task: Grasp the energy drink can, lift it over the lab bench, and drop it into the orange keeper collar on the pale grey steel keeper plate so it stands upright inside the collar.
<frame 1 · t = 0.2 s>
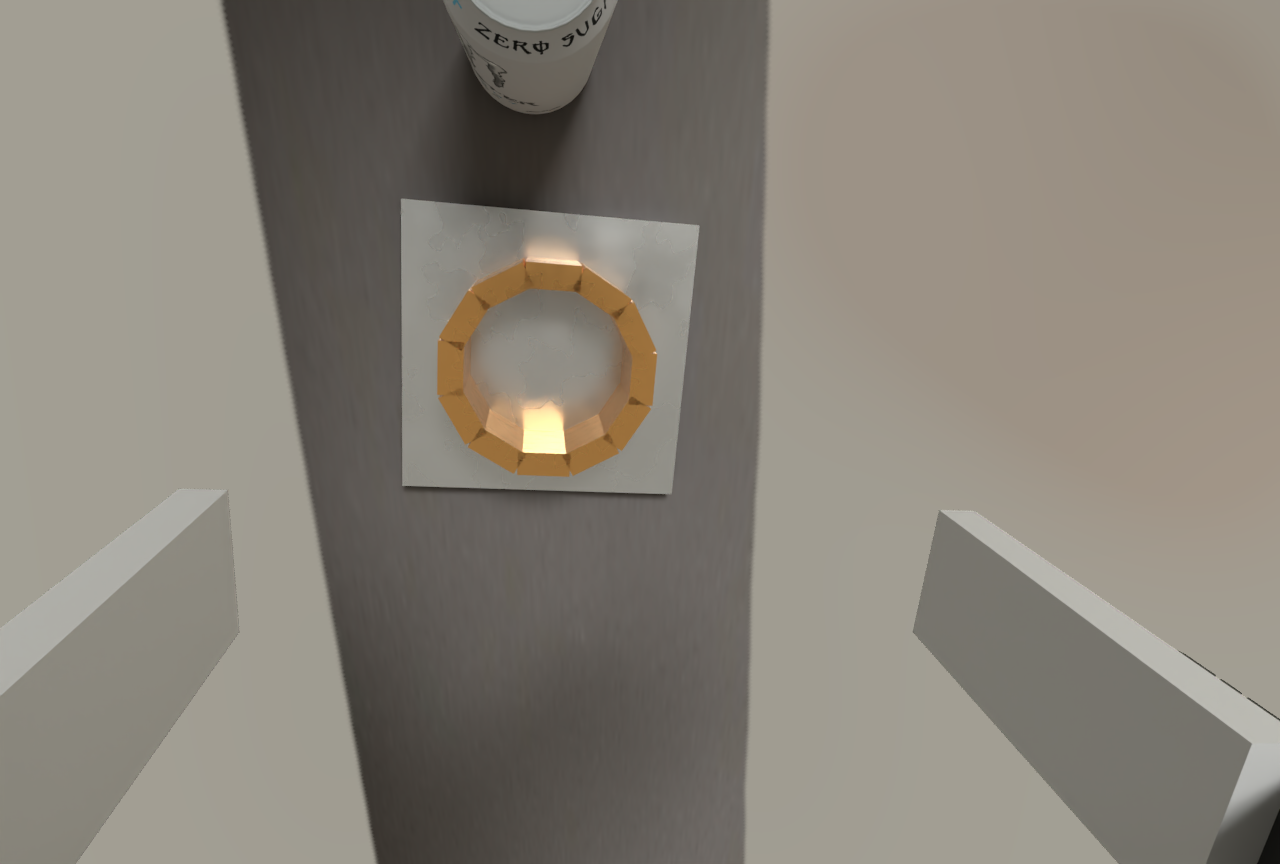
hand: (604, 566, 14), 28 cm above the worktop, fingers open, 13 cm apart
keeper: (547, 354, 40), on the worktop
energy drink can: (531, 51, 36), on the worktop
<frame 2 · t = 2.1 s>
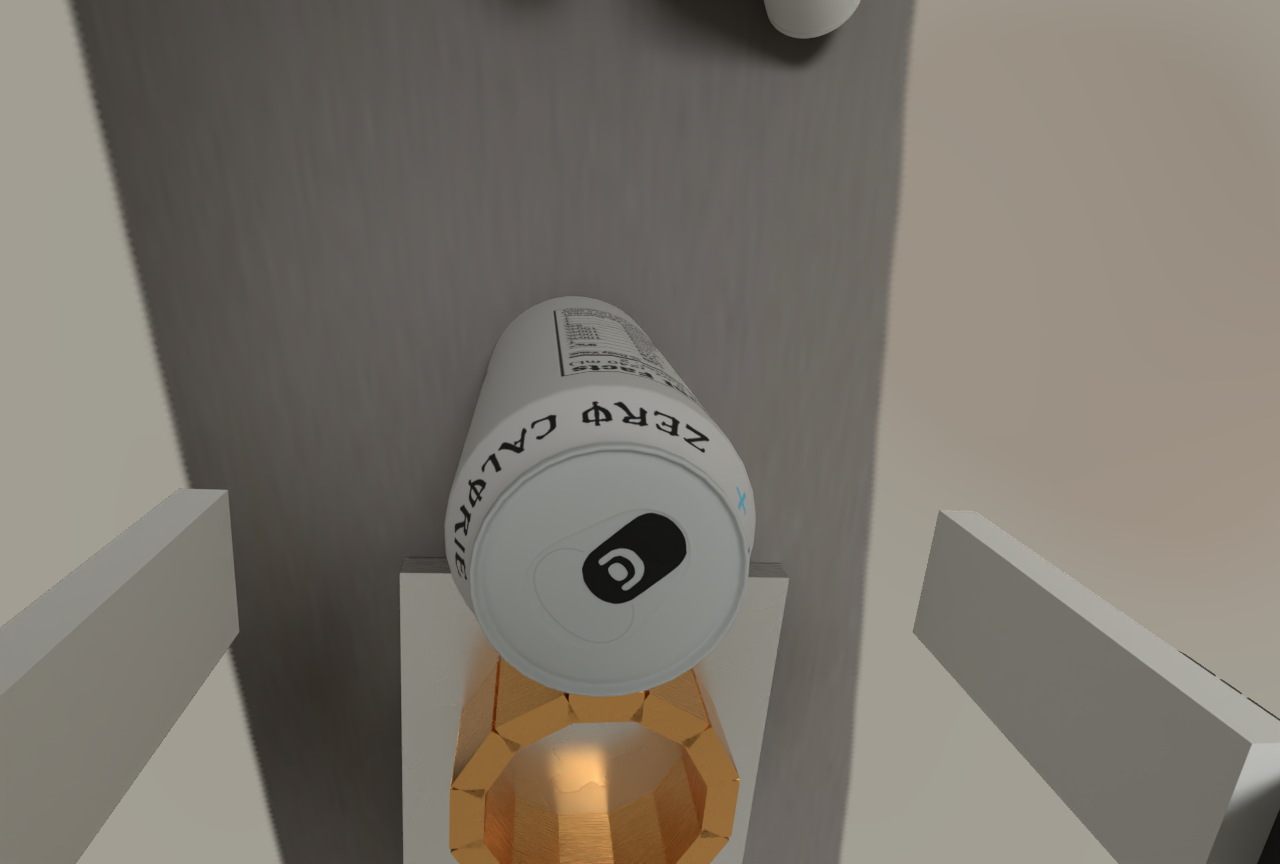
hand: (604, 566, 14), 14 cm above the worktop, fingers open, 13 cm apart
keeper: (587, 717, 31), on the worktop
energy drink can: (573, 374, 27), on the worktop
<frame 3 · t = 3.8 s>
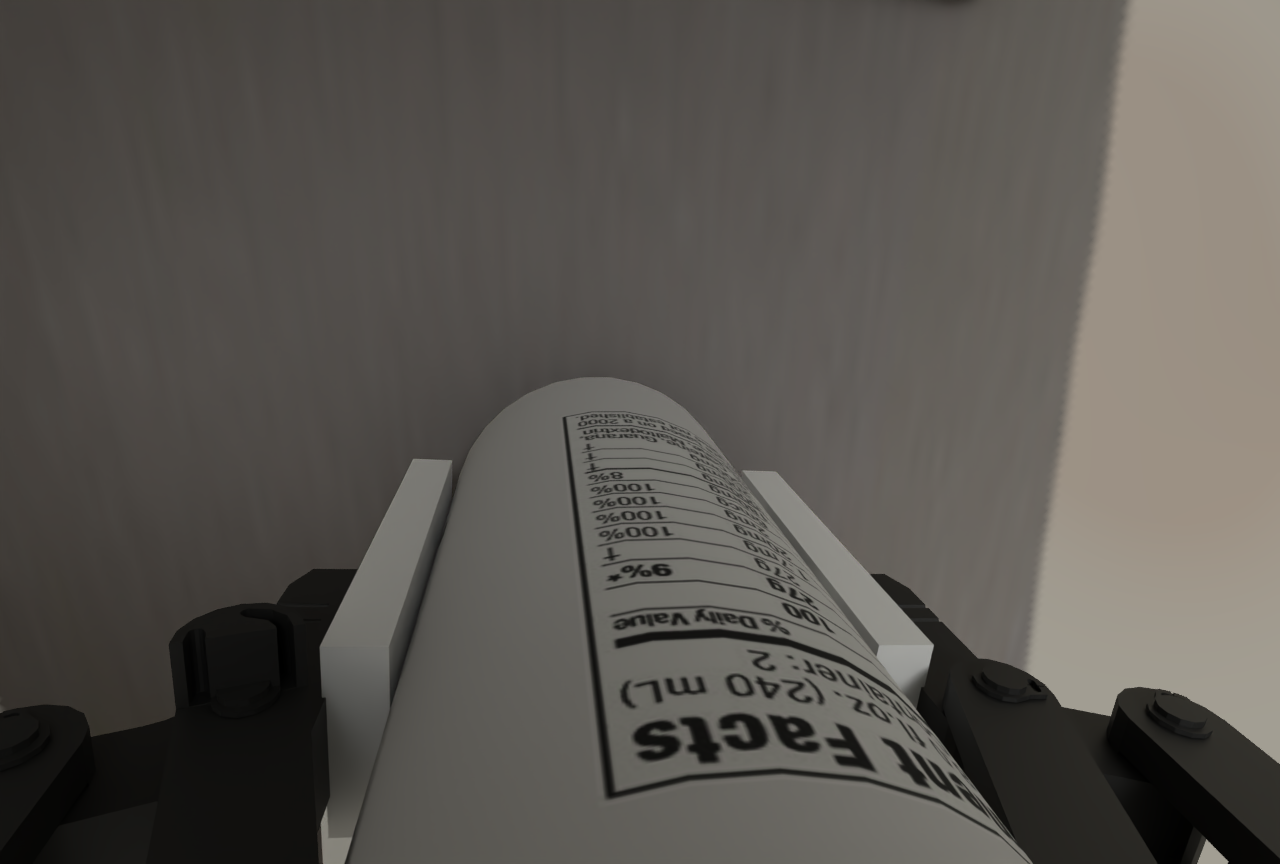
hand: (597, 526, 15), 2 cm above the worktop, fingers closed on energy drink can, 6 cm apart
energy drink can: (590, 489, 17), on the worktop, touching gripper
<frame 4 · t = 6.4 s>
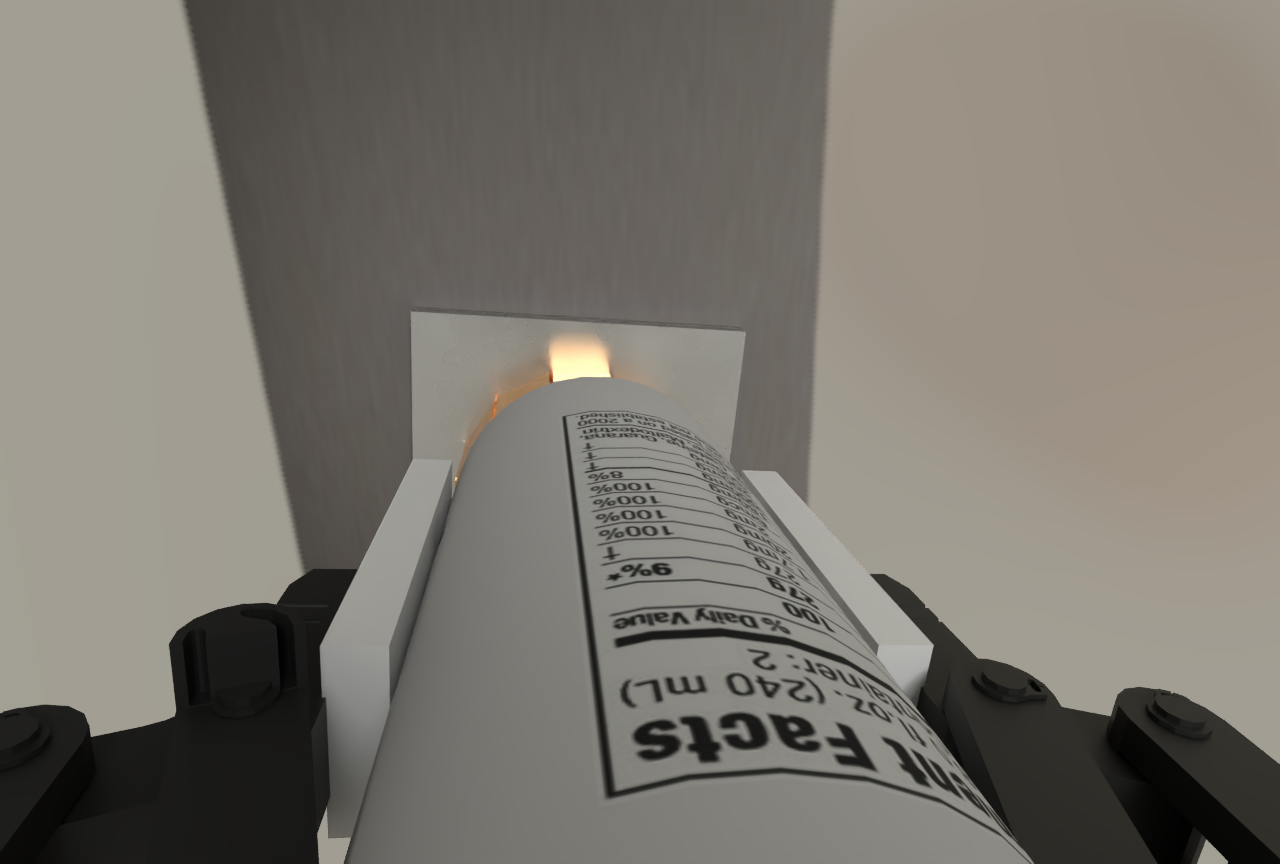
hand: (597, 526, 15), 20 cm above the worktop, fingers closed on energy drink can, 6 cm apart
keeper: (573, 468, 36), on the worktop
energy drink can: (590, 489, 17), point 18 cm above the worktop, touching gripper
when the fingers open (8 cm above the worktop, at t = 9.1 s): energy drink can drops 5 cm, resting on keeper.
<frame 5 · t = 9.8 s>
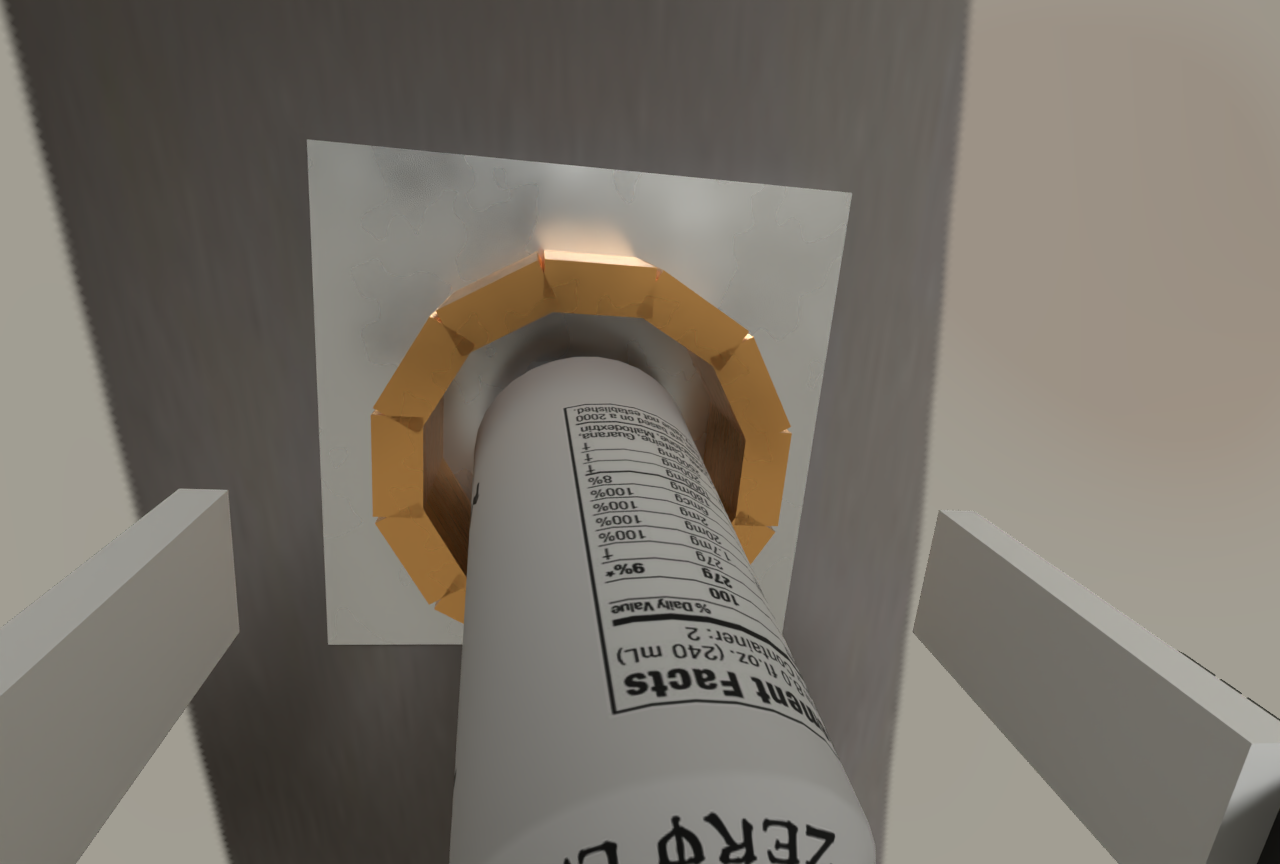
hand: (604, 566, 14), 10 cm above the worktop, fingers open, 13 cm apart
keeper: (576, 417, 23), on the worktop
energy drink can: (579, 433, 22), point 2 cm above the worktop, touching keeper
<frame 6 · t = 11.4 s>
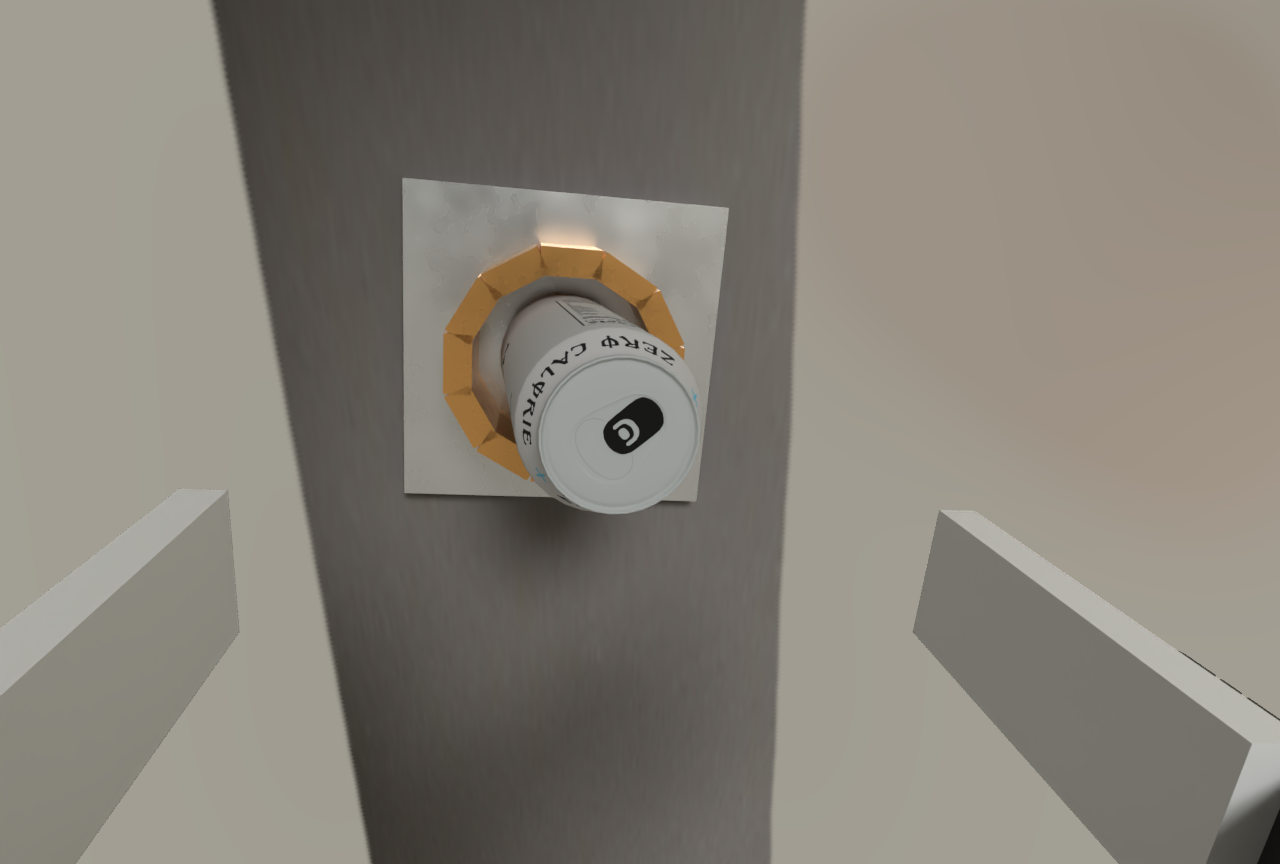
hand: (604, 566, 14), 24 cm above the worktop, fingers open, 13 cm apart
keeper: (561, 349, 37), on the worktop
energy drink can: (562, 354, 35), point 1 cm above the worktop, touching keeper
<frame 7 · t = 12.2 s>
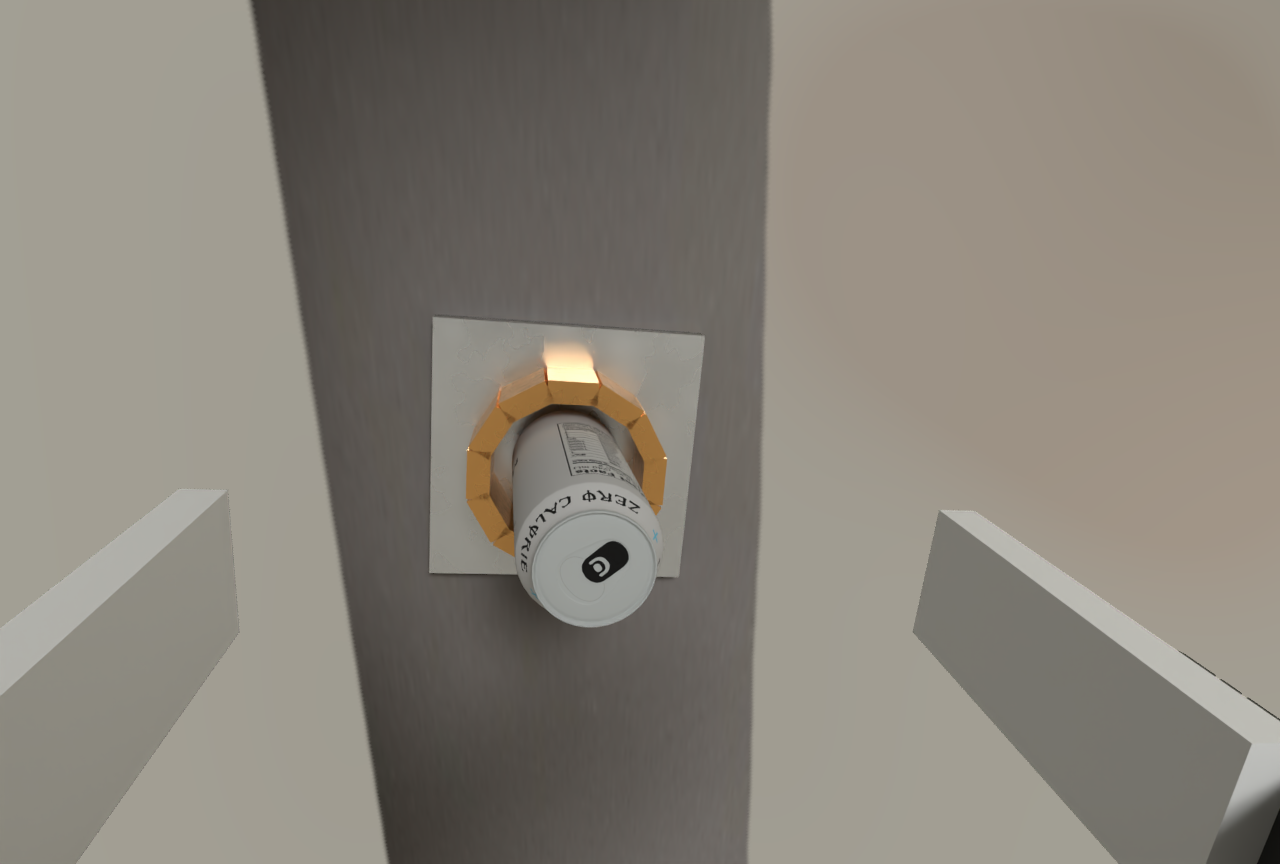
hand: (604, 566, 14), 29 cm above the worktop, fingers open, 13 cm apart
keeper: (563, 450, 43), on the worktop
energy drink can: (564, 456, 42), point 1 cm above the worktop, touching keeper
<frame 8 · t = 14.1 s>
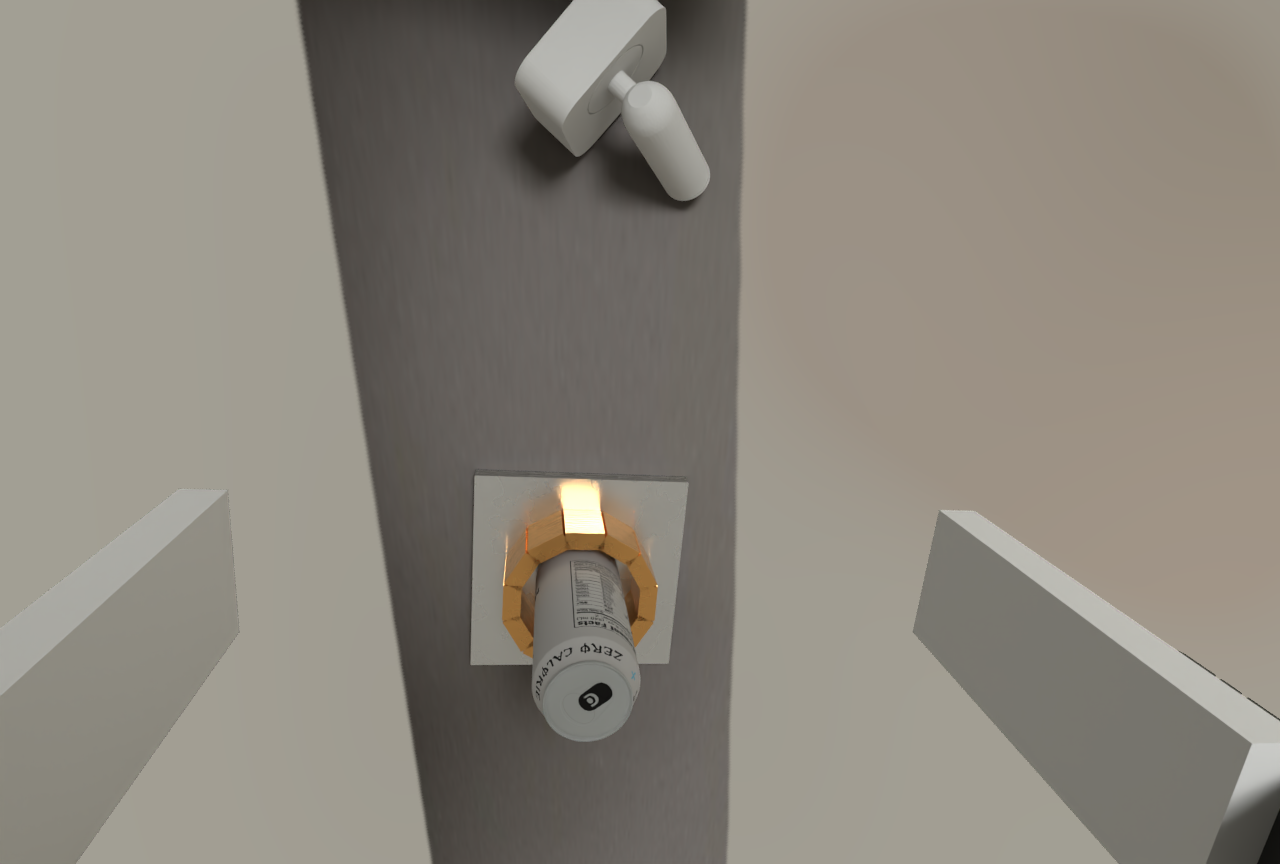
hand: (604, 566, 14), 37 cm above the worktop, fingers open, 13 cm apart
keeper: (576, 567, 54), on the worktop
wall hook: (629, 122, 46), on the worktop
energy drink can: (577, 574, 53), point 1 cm above the worktop, touching keeper
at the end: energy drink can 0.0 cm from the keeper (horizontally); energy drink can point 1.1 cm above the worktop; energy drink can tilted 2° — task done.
